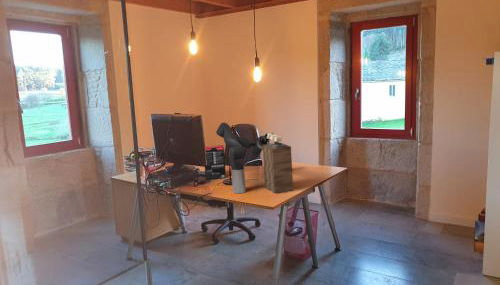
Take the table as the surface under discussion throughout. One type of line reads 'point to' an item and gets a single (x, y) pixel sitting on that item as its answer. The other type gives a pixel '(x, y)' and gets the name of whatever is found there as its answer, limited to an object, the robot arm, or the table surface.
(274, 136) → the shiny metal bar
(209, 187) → the table surface
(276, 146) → the walnut cabinet
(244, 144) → the robot arm
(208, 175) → the graphics card box
